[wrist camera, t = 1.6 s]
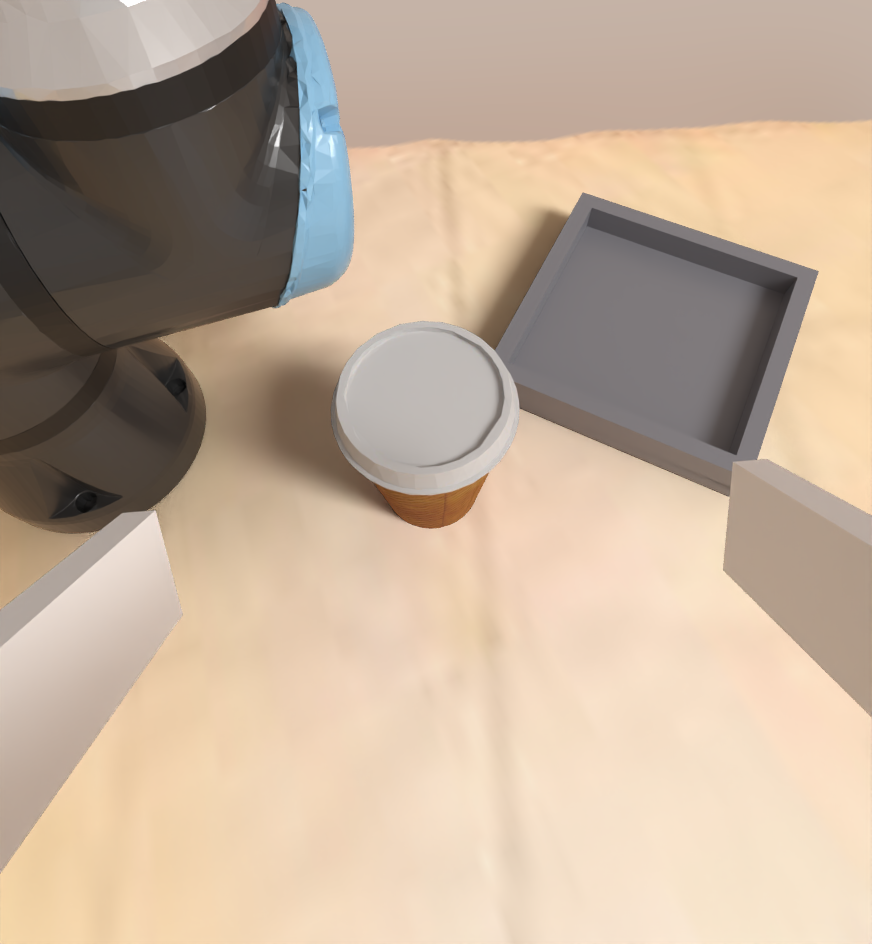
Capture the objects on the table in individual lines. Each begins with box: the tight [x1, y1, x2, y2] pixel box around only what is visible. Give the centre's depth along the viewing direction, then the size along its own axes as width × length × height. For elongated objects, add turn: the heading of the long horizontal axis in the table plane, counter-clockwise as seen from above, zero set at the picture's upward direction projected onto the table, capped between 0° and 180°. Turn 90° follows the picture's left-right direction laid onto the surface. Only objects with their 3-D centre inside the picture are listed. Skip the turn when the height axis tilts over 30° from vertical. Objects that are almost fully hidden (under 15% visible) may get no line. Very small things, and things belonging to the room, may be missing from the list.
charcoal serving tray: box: [495, 193, 819, 496], centre depth 41 cm, size 18×18×3 cm
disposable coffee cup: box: [331, 321, 519, 528], centre depth 33 cm, size 10×10×12 cm
